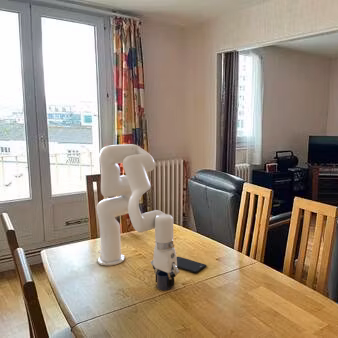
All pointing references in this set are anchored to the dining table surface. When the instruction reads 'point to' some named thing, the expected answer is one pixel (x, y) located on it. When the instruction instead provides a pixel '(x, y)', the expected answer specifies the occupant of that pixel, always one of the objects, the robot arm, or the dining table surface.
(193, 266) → the cell phone
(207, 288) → the dining table surface
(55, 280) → the dining table surface
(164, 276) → the blue plastic cup
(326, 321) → the dining table surface
